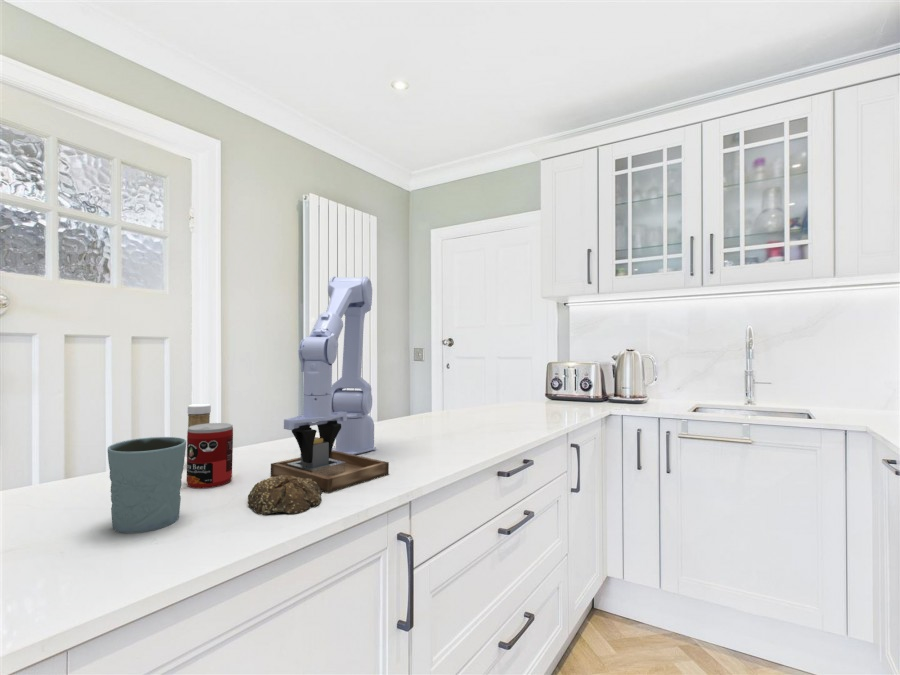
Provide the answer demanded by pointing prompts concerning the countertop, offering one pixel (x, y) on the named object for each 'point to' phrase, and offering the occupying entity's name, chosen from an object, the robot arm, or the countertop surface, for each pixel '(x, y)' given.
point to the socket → (322, 467)
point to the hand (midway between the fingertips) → (316, 459)
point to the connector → (318, 454)
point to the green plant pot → (146, 483)
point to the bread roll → (284, 495)
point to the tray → (355, 473)
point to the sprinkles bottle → (198, 414)
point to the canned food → (209, 455)
